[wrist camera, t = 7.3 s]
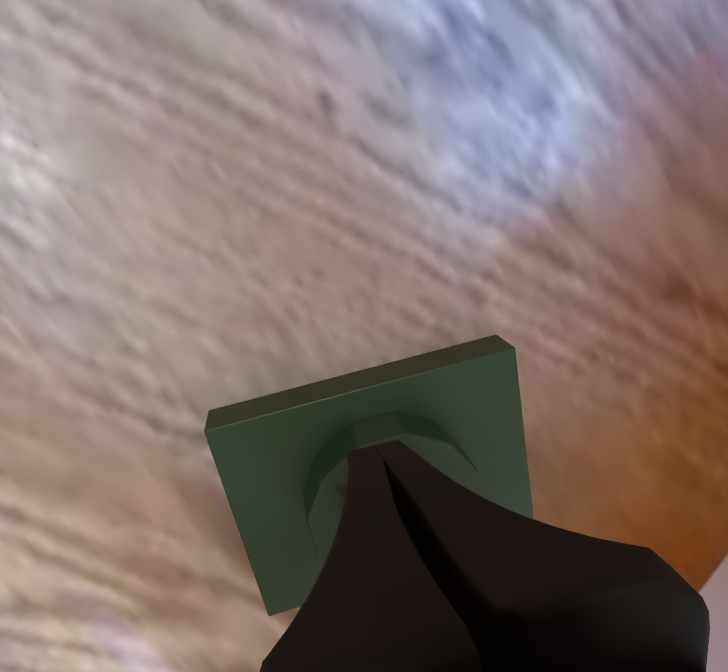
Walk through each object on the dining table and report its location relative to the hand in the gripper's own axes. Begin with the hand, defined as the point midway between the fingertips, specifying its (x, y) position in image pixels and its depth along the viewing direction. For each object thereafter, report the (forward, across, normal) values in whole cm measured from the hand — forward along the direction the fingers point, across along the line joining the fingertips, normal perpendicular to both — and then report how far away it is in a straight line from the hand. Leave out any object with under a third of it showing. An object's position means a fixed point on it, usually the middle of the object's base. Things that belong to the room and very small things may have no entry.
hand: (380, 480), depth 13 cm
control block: (+8, -1, +5) cm, 10 cm away
